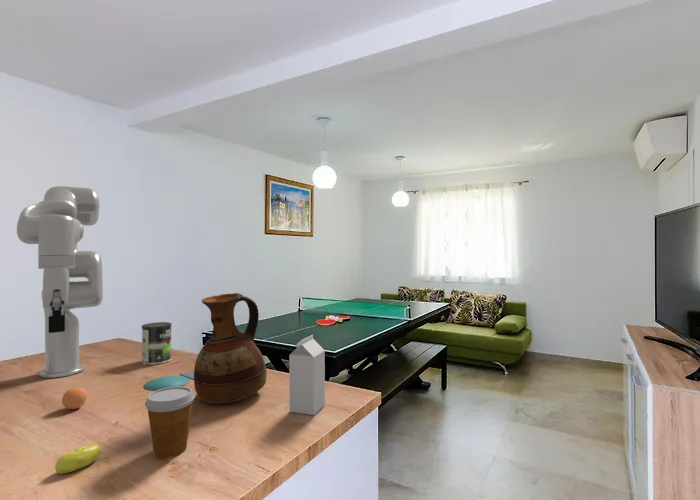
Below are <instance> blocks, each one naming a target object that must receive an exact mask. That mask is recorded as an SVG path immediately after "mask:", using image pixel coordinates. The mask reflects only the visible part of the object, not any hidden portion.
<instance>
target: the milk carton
mask: <svg viewBox="0 0 700 500" xmlns="http://www.w3.org/2000/svg"><path fill="white" fill-rule="evenodd" d="M295 347H296V348H295V349H294V350H293V351H292V352H291V353H290V354H289V355H288V357H289V360H288V361H289V365H288V367H289V370H288V371H289V379H288V381H289V412H290V413H295V414H296V413H297V414H304V415H309V416H316V415H317V413H318V412H319V411H321V409H323V408H324V406H326V385H325V384H326V382H325V381H326V380H325V378H326V376H325V375H326V372H325V371H326V370H325V368H326V367H325V366H326V364H325V363H326V361H325V360H326V359H325V353H326V352H325V348H323V347H322V345H320V344H319V343H318V342H317V341H316V340H315V339H314V334H311V335H310V336H309V335H308V336H307V337H305V338H303V339H301V340H300V341H299V342H298V343H296V344H295Z"/></svg>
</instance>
